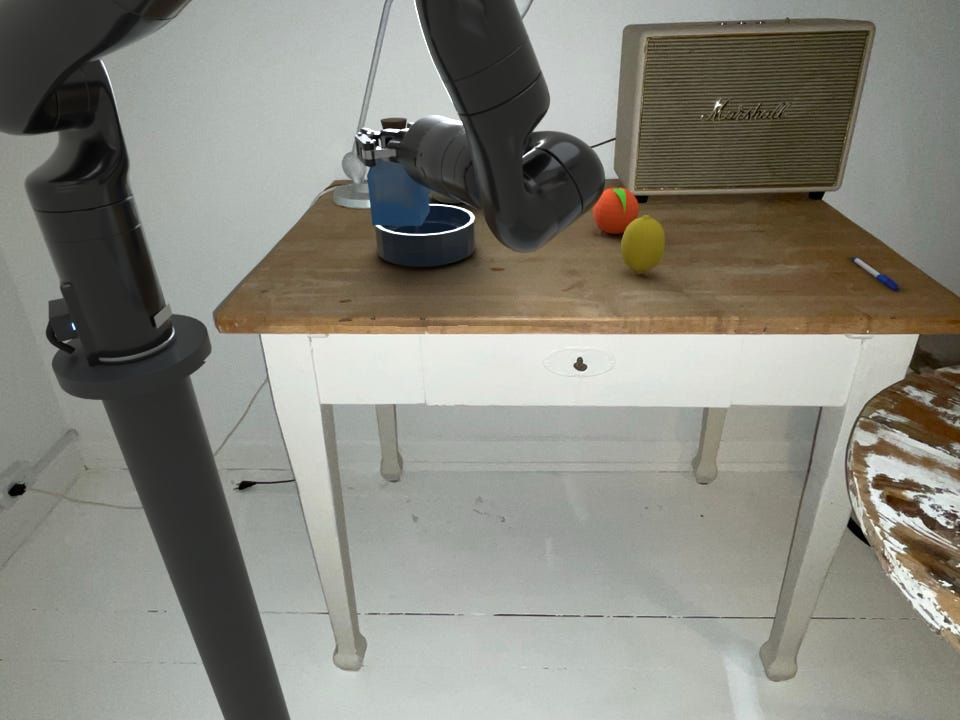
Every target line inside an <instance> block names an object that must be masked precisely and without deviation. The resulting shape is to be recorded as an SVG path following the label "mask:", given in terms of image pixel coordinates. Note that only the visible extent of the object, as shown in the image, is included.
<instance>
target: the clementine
mask: <svg viewBox="0 0 960 720" xmlns="http://www.w3.org/2000/svg"><path fill="white" fill-rule="evenodd" d="M639 213H640V206H639V201H638V199H637V198H636V196H635V195H634V194H633V193H632V192H631V191H630V190H628V189H627V188H624V187H619V186H617V187H610V188H607V189H605V190H604V191H603V194H602V196H601V197H600V199H599V201H598V202H597V203H596V204H595V205H594V207H593V208H592V217H593V219H594V222H595V224H596V225H597V227H598V228H599V229H600V230H602V231H603V232H605V233H607V234H611V235H618V234H624V232H625V230H626V228H627V226H628V225H629V224H630V223H631V222H632V221H634V220H635V219H638V218H639Z"/></svg>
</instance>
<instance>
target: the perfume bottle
mask: <svg viewBox="0 0 960 720" xmlns="http://www.w3.org/2000/svg"><path fill="white" fill-rule="evenodd" d="M407 121H408V118H406V117H385V118H381V119H380V121H379V122H380V124H381V130H380V131H382V130H386V129H396V130H403V129H407V123H408V122H407ZM393 138H394V136H392V139H393ZM366 178H367V179H366V181H367V188H368V197H369V206H370V216H371V225H372V226H374V225H388V226H421V225H422V224H423V222H424V220H425V219H426V217H427V215H428V214H429V212H430V207H429V204H430V194H429V190H428V188H426V187H424V186H422V185H420V184H418V183H416V182H415V181H414V180H412V179H411V178H410V176H409V175H408V174H407V172H406V171H405V169H404V168H403V166H402V165H401V164H399V163H392V162H386V161H384V160H383V159H382V158H378V163H376V166H373V167H369V169H368V171H367V174H366Z"/></svg>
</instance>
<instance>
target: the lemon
mask: <svg viewBox="0 0 960 720" xmlns="http://www.w3.org/2000/svg"><path fill="white" fill-rule="evenodd" d="M622 234H623V235H622V238H621V241H620V242H621V243H620V253H621V258H622V260H623V262H624V264H625V265H626V266H627V267H628V268H629V269H631V270H633V271H634V272H635V273H636V274H637V275H642V274H644V273H645V272H648V271H651V270H652V269H654V268H655V267H657V266H658V265H659V263H660V262H661V260H662V259H663V257H664V253H665V250H666V234H665V230H664V227H663V226H662V224H661V223H660V222H659V221H658V220H656V219H654V218H653V217H651V216H650V215H648V214H644V215H642V216H641V217H637V219H635V220H634V221H632V222H631V223H630V224H629V225H628V226H627V228H626V230H625V232H623V233H622Z"/></svg>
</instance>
